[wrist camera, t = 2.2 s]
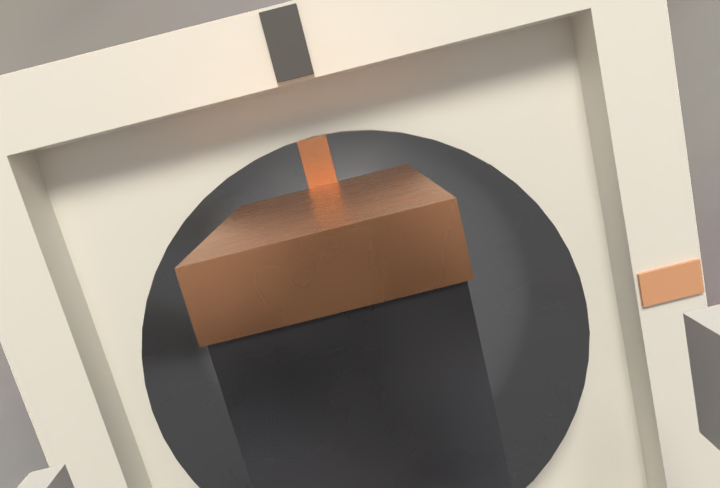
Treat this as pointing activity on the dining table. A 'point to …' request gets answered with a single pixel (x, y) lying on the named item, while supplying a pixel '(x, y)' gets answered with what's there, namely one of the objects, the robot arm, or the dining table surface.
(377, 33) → the dial panel
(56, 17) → the dining table surface
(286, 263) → the dial
